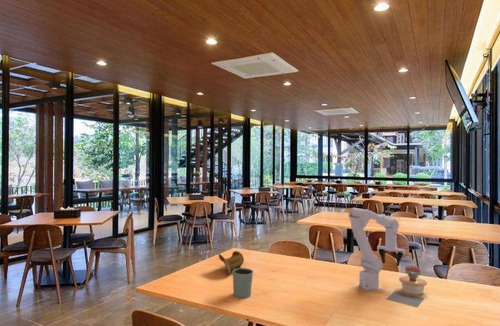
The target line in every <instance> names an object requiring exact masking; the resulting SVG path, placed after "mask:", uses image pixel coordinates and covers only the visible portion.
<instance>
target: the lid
mask: <svg viewBox="0 0 500 326" xmlns="http://www.w3.org/2000/svg"><path fill="white" fill-rule="evenodd" d="M398 280H399V282H400V283H401V282H402V283H404V284H407V285H412V286H424V287H425V286H427V285H428V282H427V281H426V280H425V279H422V278H421V277H418V278H416V273H415V272H409V276H408V275H407V276H406V275H405V276H401V277H399V278H398ZM402 283H401V284H402Z"/></svg>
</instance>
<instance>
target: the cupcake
mask: <svg viewBox="0 0 500 326" xmlns="http://www.w3.org/2000/svg"><path fill="white" fill-rule="evenodd" d="M404 271H405V272H406V273H407V276H409V272H415V273H416V278H419V275H420V274H421V273H422V271H421V268H419V266H417V265H415V258H413V259H412V264H408V265H407V266H405V268H404Z"/></svg>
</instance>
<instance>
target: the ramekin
mask: <svg viewBox="0 0 500 326" xmlns="http://www.w3.org/2000/svg"><path fill="white" fill-rule="evenodd" d="M400 283H401V288H402V290H403V292H405V293H406V294H407V293H408V294H410V295H422V294H423V293H424V290H425V286H412V285H407V284H404V283H402V282H400Z"/></svg>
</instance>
